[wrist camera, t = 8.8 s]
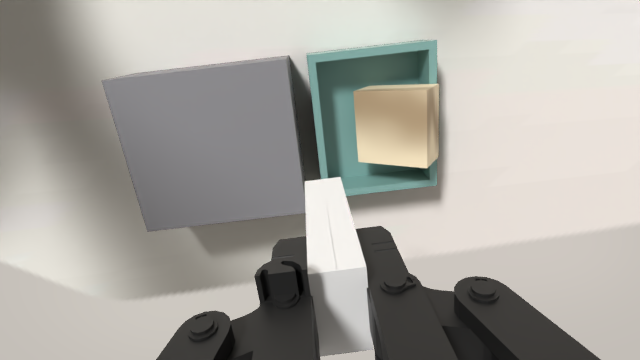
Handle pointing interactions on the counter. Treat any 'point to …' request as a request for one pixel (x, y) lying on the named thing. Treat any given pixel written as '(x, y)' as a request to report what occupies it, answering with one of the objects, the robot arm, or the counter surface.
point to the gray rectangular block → (211, 142)
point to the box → (339, 113)
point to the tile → (397, 124)
